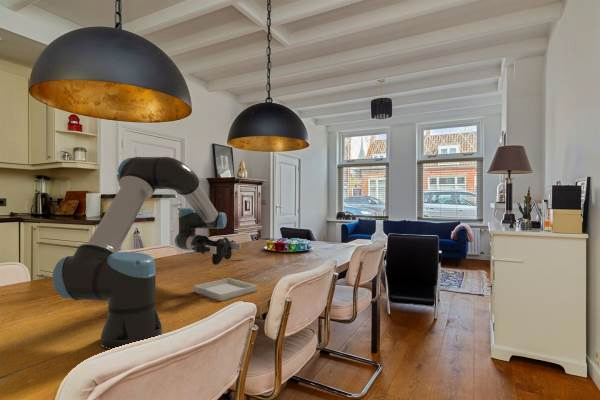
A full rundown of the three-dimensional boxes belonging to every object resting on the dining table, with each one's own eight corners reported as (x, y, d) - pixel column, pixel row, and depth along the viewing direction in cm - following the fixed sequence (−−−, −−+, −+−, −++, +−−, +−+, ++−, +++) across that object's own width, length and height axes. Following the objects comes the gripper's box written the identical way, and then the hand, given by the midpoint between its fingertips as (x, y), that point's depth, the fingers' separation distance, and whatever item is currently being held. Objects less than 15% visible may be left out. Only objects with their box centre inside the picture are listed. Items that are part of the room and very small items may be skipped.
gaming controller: (222, 266, 130) (222, 240, 130) (208, 265, 131) (208, 240, 131) (236, 259, 144) (236, 236, 144) (223, 258, 145) (223, 235, 145)
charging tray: (220, 301, 126) (220, 294, 126) (193, 291, 138) (193, 285, 138) (257, 291, 139) (257, 285, 139) (229, 283, 152) (229, 278, 152)
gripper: (221, 248, 159) (251, 253, 144) (173, 255, 140) (202, 262, 126) (220, 232, 159) (251, 236, 144) (173, 237, 140) (202, 242, 126)
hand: (228, 248), depth 135 cm, fingers closed on gaming controller, 12 cm apart
